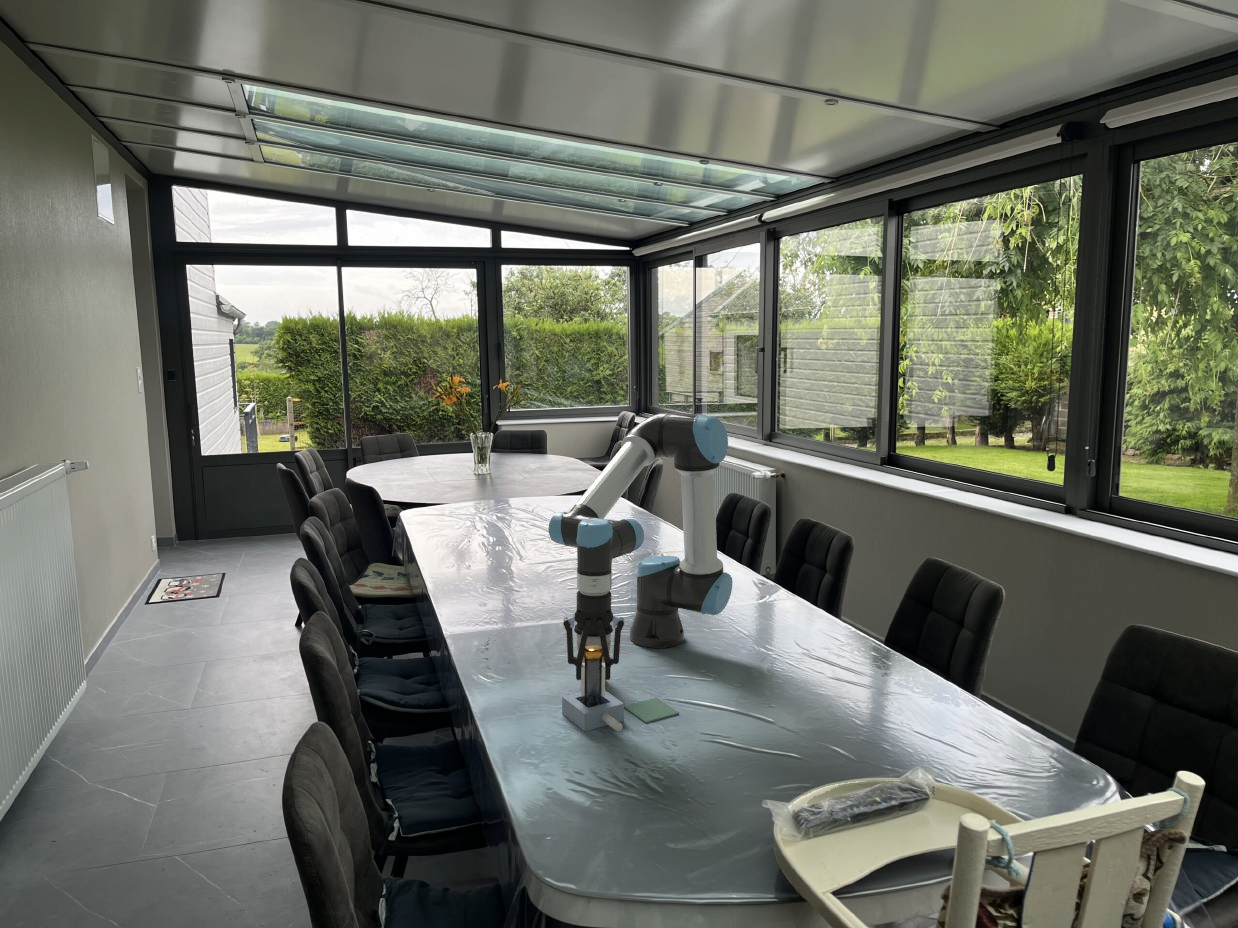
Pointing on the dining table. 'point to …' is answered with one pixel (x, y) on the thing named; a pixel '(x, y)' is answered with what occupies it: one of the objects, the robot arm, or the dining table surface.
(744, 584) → the dining table surface
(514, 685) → the dining table surface
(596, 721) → the block
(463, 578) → the dining table surface
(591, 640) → the coffee cup
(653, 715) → the pad
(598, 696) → the orange capped tube
